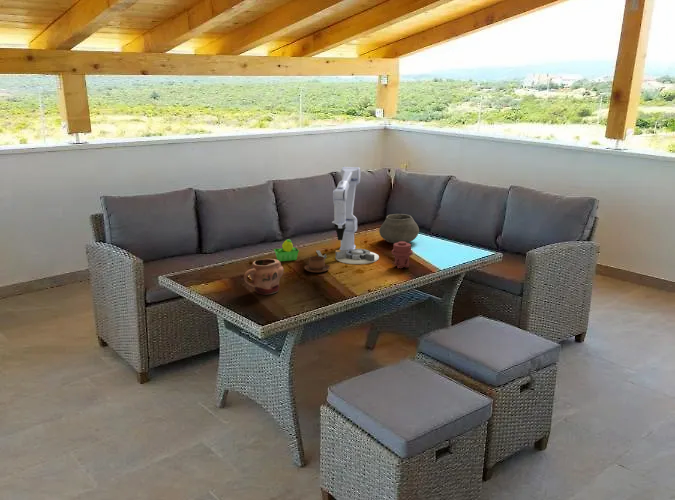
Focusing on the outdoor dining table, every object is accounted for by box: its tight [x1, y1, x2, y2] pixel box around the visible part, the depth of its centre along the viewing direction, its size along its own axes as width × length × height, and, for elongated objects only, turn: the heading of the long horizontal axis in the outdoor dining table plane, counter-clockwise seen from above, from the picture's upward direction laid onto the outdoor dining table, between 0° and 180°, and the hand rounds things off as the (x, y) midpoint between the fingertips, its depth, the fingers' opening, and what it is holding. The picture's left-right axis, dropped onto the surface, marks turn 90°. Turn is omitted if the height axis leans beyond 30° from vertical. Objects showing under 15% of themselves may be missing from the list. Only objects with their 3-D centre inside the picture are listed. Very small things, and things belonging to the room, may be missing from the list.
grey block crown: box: [335, 248, 371, 260], centre depth 309 cm, size 13×17×4 cm
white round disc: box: [335, 249, 380, 265], centre depth 309 cm, size 22×22×4 cm
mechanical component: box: [391, 241, 414, 269], centre depth 292 cm, size 12×10×10 cm
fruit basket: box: [273, 238, 300, 262], centre depth 305 cm, size 11×9×11 cm
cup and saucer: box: [304, 255, 330, 274], centre depth 289 cm, size 12×12×6 cm
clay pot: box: [378, 213, 420, 244], centre depth 336 cm, size 22×21×15 cm
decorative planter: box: [243, 258, 285, 296], centre depth 257 cm, size 20×12×14 cm, turn 139°
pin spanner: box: [315, 249, 327, 259], centre depth 315 cm, size 13×3×2 cm, turn 10°
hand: (340, 239), depth 309 cm, fingers open, 3 cm apart
